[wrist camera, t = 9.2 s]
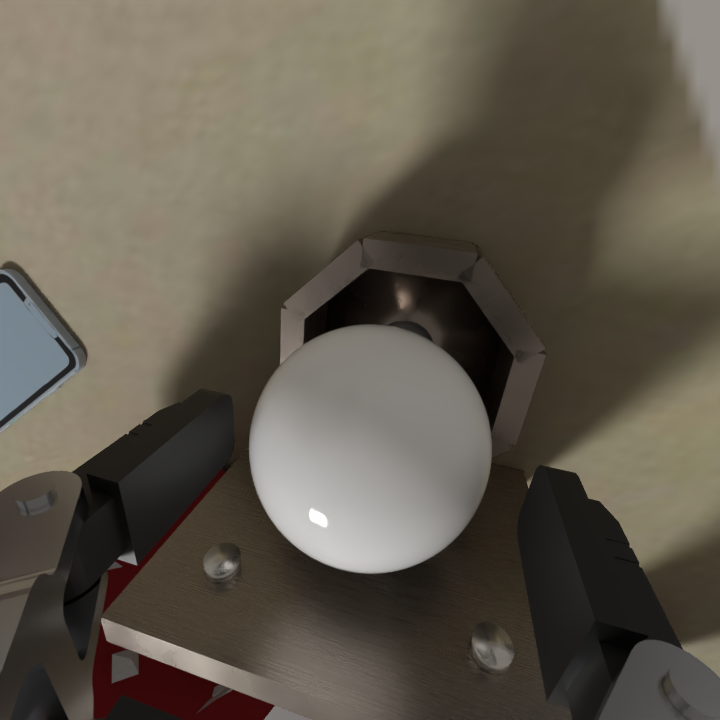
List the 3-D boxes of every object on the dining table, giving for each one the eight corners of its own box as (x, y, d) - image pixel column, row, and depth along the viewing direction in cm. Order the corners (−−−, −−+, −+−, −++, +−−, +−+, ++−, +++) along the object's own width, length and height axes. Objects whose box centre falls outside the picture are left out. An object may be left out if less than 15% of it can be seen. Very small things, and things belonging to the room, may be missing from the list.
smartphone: (-83, 366, 28) (0, 262, 22) (-69, 361, 29) (16, 260, 23) (-12, 442, 29) (85, 365, 23) (0, 436, 30) (96, 359, 24)
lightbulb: (462, 258, 15) (469, 356, 5) (488, 394, 17) (529, 651, 7) (323, 294, 17) (142, 413, 7) (361, 412, 19) (258, 631, 9)
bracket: (278, 217, 17) (-13, 236, 7) (600, 259, 15) (976, 397, 4) (276, 430, 22) (107, 641, 11) (517, 488, 20) (589, 825, 9)
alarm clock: (133, 459, 26) (-555, 995, 8) (184, 384, 23) (-860, 1065, 5) (290, 586, 28) (-21, 1292, 10) (362, 535, 24) (76, 1535, 6)
